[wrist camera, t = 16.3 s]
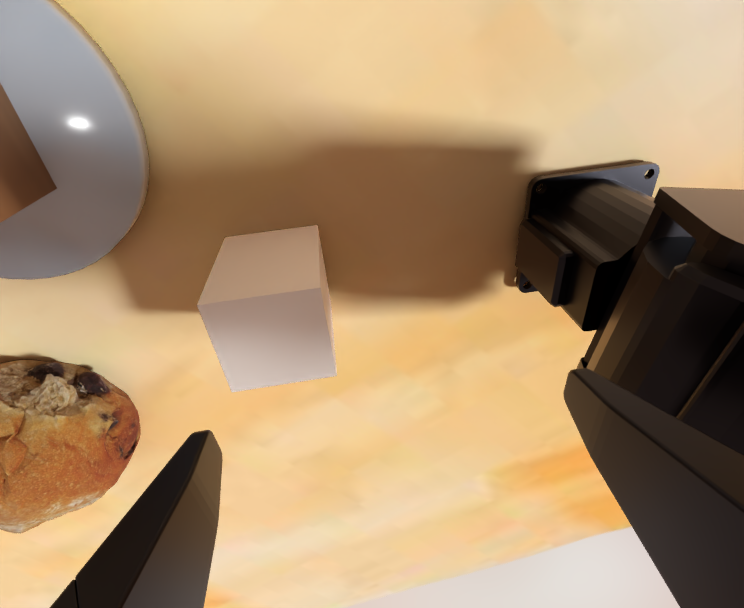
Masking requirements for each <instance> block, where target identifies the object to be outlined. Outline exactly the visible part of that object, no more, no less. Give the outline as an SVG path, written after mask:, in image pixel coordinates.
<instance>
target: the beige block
mask: <svg viewBox="0 0 744 608" xmlns="http://www.w3.org/2000/svg"><path fill="white" fill-rule="evenodd" d="M197 307H198V310H199V312H200V314H201V317H202V319H203V322H204V324H205V327H206V329H207V332H208V334H209V337H210V339H211V342H212V344H213V347H214V349H215V352H216V354H217V357H218V359H219V362H220V364H221V367H222V369H223V372H224V374H225V377H226V379H227V382H228V384H229V387H230V389H231V392H237V391H243V390H250V389H256V388H263V387H269V386H275V385H282V384H288V383H295V382H301V381H307V380H314V379H320V378H327V377H333V376H337V370H336V357H335V345H334V333H333V321H332V309H331V299H330V293H329V288H328V282H327V276H326V270H325V265H324V259H323V253H322V247H321V242H320V236H319V230H318V225H313V226H305V227H298V228H290V229H282V230H275V231H267V232H260V233H252V234H245V235H237V236H230V237H225V238H224V241H223V243H222V246H221V248H220V250H219V253H218V255H217V258H216V260H215V262H214V265H213V267H212V270H211V272H210V274H209V277H208V279H207V282H206V284H205V286H204V289H203V291H202V294H201V296H200V299H199V301H198V303H197Z"/></svg>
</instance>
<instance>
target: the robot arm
mask: <svg viewBox="0 0 744 608" xmlns="http://www.w3.org/2000/svg"><path fill="white" fill-rule="evenodd" d="M647 170H649V171H648V173H647V174H646V175H645V176H644V174H645V172H646V171H647ZM658 174H659V166H658V165H657V164H655V163H652V162H639V163H632V164H625V165H617V166H610V167H603V168H595V169H588V170H581V171H573V172H566V173H559V174H551V175H544V176H538V177H535V178H534V179H532V180H531V182H530V183H529V186H528V190H527V198H526V206H525V214H524V220H523V221H522V222H521V224H520V229H519V238H518V246H517V254H516V263H515V265H516V267H517V268H518V270H517V278H516V286H517V287H518V289H519V290H520V291H521V292H523V293H528V292H534V291H539V292H540V293H541V294H542V296H543V297H544V298H545V299H546V300H547V301H548V302H549V303H550V304H551V305H552V306H554V307H559V306H561V307H562V308H563V310H564V311H565V312H566V313H567V314H568V315H569V316H570V317H571V318H572V319H573V320H574V321H575V322H576V324H577V325H578V326H579V327H580V328H581V329H582V330H583V331H592V330H597V331H596V333H595V335H594V337H593V340H592V342H591V344H590V346H589V348H588V350H587V352H586V355H585V357H583V358H581V360H580V362H579V364H578V366H577V369H574V370H571V371H570V372H569V373H568V377H567V381H566V385H565V389H564V400H565V402H566V405H567V407H568V409H569V411H570V413H571V416H572V418H573V420H574V422H575V424H576V426H577V429H578V431H579V433H580V435H581V437H582V439H583V442H584V444H585V446H586V448H587V450H588V452H589V454H590V456H591V458H592V460H593V461H594V463H595V465H596V467H597V468H598V470H599V472H600V473H601V475H602V477H603V478H604V480H605V482H606V483H607V485H608V487H609V488H610V490H611V492H612V494H613V495H614V497H615V499H616V500H617V502H618V504H619V505H620V507H621V509H622V510H623V512H624V514H625V515H626V517H627V519H628V520H629V522H630V524H631V525H632V527H633V529H634V531H635V532H636V534H637V535H638V537H639V539H640V541H641V542H642V544H643V546H644V547H645V549H646V550H647V552H648V553H649V556H650V557H651V559H652V561H653V562H654V564H655V566H656V567H657V569H658V571H659V573H660V574H661V576H662V577H663V579H664V581H665V583H666V584H667V586H668V588H669V589H670V591H671V592H672V594H673V596H674V598H675V599H676V601H677V603H678V604H679V606H680V608H744V190H732V189H704V188H676V187H660V188H659V191H658V193H657V195H656V197H655V198H653V197H652V194H653V191H654V187H655V184H656V181H657V178H658ZM540 184H543V186H542V188H541V189H540V190H539V191H536V189H537V187H538V186H539V185H540ZM527 281H529V282H528V283H527V284H526V285H524V283H525V282H527ZM221 474H222V452H221V449H220V447H219V445H218V443H217V441H216V439H215V437H214V435H213V433H212V432H211V431H210V430H204V431H198V432H194V433H192V434H191V435H190V436H189V437H188V439H187V440H186V441H185V442H184V443H183V445H182V446H181V447H180V448H179V450H178V451H177V452H176V453H175V455H174V456H173V457H172V458H171V459H170V461H169V462H168V463H167V464H166V466H165V467H164V468H163V469H162V471H161V472H160V473H159V474H158V475H157V477H156V478H155V479H154V480H153V482H152V483H151V484H150V485H149V487H148V488H147V489H146V490H145V491H144V493H143V494H142V495H141V496H140V498H139V499H138V500H137V501H136V503H135V504H134V505H133V506H132V507H131V509H130V510H129V511H128V512H127V514H126V515H125V516H124V517H123V519H122V520H121V521H120V522H119V524H118V525H117V526H116V527H115V528H114V530H113V531H112V532H111V533H110V535H109V536H108V537H107V538H106V540H105V541H104V542H103V543H102V544H101V546H100V547H99V548H98V549H97V551H96V552H95V553H94V554H93V556H92V557H91V558H90V559H89V560H88V562H87V563H86V564H85V565H84V567H83V568H82V569H81V570H80V572H79V573H78V574H77V575H76V577H75V580H72V581H71V582H70V584H69V585H68V586H67V587H66V589H65V590H64V591H63V592H62V594H61V595H60V596H59V597H58V598H57V600H56V601H55V602H54V603H53V604H52V606H51V607H50V608H203V607H204V602H205V596H206V590H207V585H208V579H209V573H210V568H211V562H212V556H213V550H214V545H215V539H216V533H217V527H218V518H219V505H220V490H221Z"/></svg>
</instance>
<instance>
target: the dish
mask: <svg viewBox="0 0 744 608" xmlns="http://www.w3.org/2000/svg"><path fill="white" fill-rule="evenodd" d="M0 83H1V85H2V87H3V88H4V90H5V92H6V94H7V96H8V98H9V100H10V101H11V103H12V105H13V107H14V109H15V111H16V113H17V114H18V116H19V118H20V120H21V122H22V124H23V126H24V128H25V129H26V131H27V133H28V135H29V137H30V139H31V141H32V142H33V144H34V146H35V148H36V150H37V152H38V154H39V155H40V157H41V159H42V161H43V163H44V165H45V167H46V168H47V170H48V172H49V174H50V176H51V178H52V180H53V182H54V183H55V185H56V187H57V189H55V190H54V191H52V192H50V193H49V194H47V195H45V196H44V197H42V198H40V199H39V200H37V201H36V202H34V203H32V204H31V205H29V206H27V207H26V208H24V209H22V210H21V211H19V212H17V213H16V214H14V215H12V216H11V217H9V218H7V219H6V220H4V221H3V222H1V223H0V278H7V279H41V278H51V277H56V276H61V275H66V274H69V273H72V272H75V271H77V270H80V269H83V268H85V267H87V266H89V265H91V264H93V263H95V262H96V261H98V260H99V259H101V258H102V257H103V256H105V255H106V254H107V253H109V252H110V251H111V250H112V249H113V248H114V247H115V246H116V244H117V243H118V242H119V241H120V240H121V239H122V238H123V237H124V236H125V235H126V234H127V233H128V232H129V231H130V229H131V228H132V226H133V225H134V223H135V222H136V220H137V219H138V217H139V214H140V212H141V210H142V208H143V205H144V202H145V198H146V194H147V191H148V183H149V153H148V148H147V143H146V138H145V133H144V130H143V127H142V124H141V120H140V117H139V114H138V112H137V109H136V107H135V105H134V103H133V100H132V98H131V96H130V94H129V91H128V90H127V88H126V86H125V85H124V83H123V81H122V79H121V78H120V76H119V74H118V72H117V71H116V69H115V68H114V66H113V65H112V63H111V62H110V61H109V59H108V58H107V56H106V55H105V54H104V52H103V51H102V49H101V48H100V47H99V46H98V44H97V43H96V42H95V41H94V40H93V39H92V37H91V36H90V35H89V34H88V33H87V32H86V31H85V29H84V28H83V27H82V26H81V25H80V24H79V23H78V22H77V21H76V20H75V19H74V18H73V17H72V16H71V15H70V14H69V13H68V12H67V11H66V10H65V9H64V8H63V7H61V6H60V5H59V4H58V3H57V2H56V1H55V0H0Z"/></svg>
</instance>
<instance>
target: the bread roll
mask: <svg viewBox="0 0 744 608" xmlns="http://www.w3.org/2000/svg"><path fill="white" fill-rule="evenodd" d="M139 438H140V423H139V415H138V411H137V409H136V408H135V406H134V404H133V402H132V401H131V399H130V398H129V396H128V395H127V394H126V393H124V392H123V391H122V390H120V389H119V388H117V387H116V386H114V385H113V384H111V383H110V382H109V381H107V380H106V379H105V378H104V377H103V376H101V375H99V374H97V373H94V372H91V371H90V370H88V369H87V368H85V367H82V366H79V365H75V364H67V363H62V362H59V361H51V362H46V361H38V360H17V361H12V362H7V363H1V364H0V529H1V530H4V531H7V532H12V533H23V532H26V531H28V530H30V529H32V528H34V527H36V526H38V525H40V524H42V523H43V522H45V521H49V520H52V519H54V518H57V517H60V516H62V515H64V514H66V513H68V512H72V511H75V510H78V509H81V508H83V507H86V506H88V505H91V504H92V503H94V502H95V501H96V500H98V499H99V498H101V497H102V496H103V495H104V494H105V493H106V491H107V490H108V489H110V488H111V487H112V486H113V485H114V484H115V483H116V482H117V481H118V479H119V477H120V475H121V474H122V472H123V471H124V469H125V468H126V466H127V465H128V463H129V461H130V459H131V457H132V454H133V452H134V450H135V448H136V446H137V444H138V441H139Z"/></svg>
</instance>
